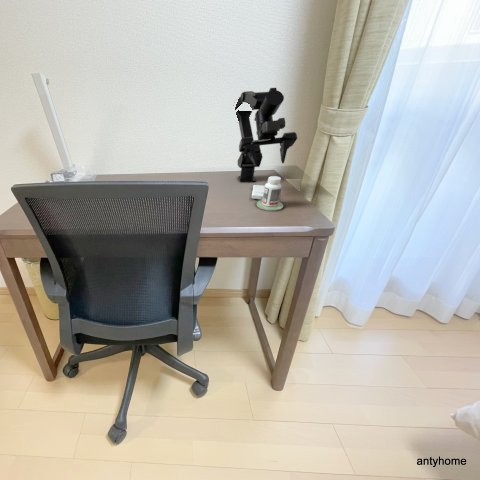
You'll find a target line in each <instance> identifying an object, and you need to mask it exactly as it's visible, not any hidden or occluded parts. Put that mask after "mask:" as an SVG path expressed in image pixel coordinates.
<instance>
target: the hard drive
mask: <svg viewBox="0 0 480 480" xmlns="http://www.w3.org/2000/svg"><path fill="white" fill-rule="evenodd" d="M264 189H265V185H264V184H263V185H262V184H254V185H253V186H252V193H251V199H253V200H263V195H264Z"/></svg>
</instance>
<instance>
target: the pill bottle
mask: <svg viewBox="0 0 480 480" xmlns="http://www.w3.org/2000/svg"><path fill="white" fill-rule="evenodd" d="M281 180H282V178H281V177H280V176H277V175H271V176H269V177H268V178H267V182H266V183H265V184H264V186H265V189H264V195H263V200H262V204H263V205H265V206H269V207H274V206H277V205H278V202H280V197H281V191H282V184H281Z"/></svg>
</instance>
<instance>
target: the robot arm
mask: <svg viewBox="0 0 480 480" xmlns="http://www.w3.org/2000/svg"><path fill="white" fill-rule="evenodd" d="M238 98H239V99H238ZM238 98H237V99H238V102H237V104H236V107H235V110H236V109H237V108H238V107H239V106H240V105H241V104H243V103H248V104H250V107H251V108H252V110H253V111H255V113H254V119H253V121H254V122H255V126H256V127H255V128H256V135H257V139H254V134H253V130H252V125H251V119H250V118H251V116H250V115H252V113H253V111H239V110H238V111H237V112H236V115H237V118H238V121H239V123H238V126H239V132H240V137H241V139H240V141H239V144H238V152H240V155H239V156H238V159H237V166H238V167H239V168H240V175H238V177H237V178H238V180H239V182H240V183H251V182H252V183H253V182H254V183H255V182H256V179H255V178H254V176H255V169H256V168H260V166H261V164H262V160H263V153H262V150H261V146H269V145H277V144H279V146H280V148H279V153H280V161H281V163H282V164H285V161H286V157H287V153H288V150H289V149H290V148H291V147H293V146H294V144H295V143H296V141H297V140H298V134H297V132H295V131H288V132H283V134H282V135H281V136H279V137H276V136H278V134H279V133H278V132H280V130H283V129H285V128H286V118H285V117H279V118H278V119H277V120H274V118H273V116H274V115H276V113H277V111H278V110H279V109H280V106H281V105H282V104H283V102H284V99H285V95H284V94H283V93H282V92H281V91H279V90H277V87H270V88H269V90H268V91H258V92H255V91H253V90H247V91H242V92H241V94H240V96H239V97H238ZM249 117H250V118H249Z"/></svg>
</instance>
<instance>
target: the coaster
mask: <svg viewBox="0 0 480 480" xmlns="http://www.w3.org/2000/svg"><path fill="white" fill-rule="evenodd" d="M256 207H257V208H259V209H261V210H264V211H268V212H269V211H270V212H277V211H281V210H282V209H283V208H284V204H283V202H281V201H279V202H278V205H277V206H274V207H269V206H265V205H263V204H262V200H261V199H259V200H257V202H256Z"/></svg>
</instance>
